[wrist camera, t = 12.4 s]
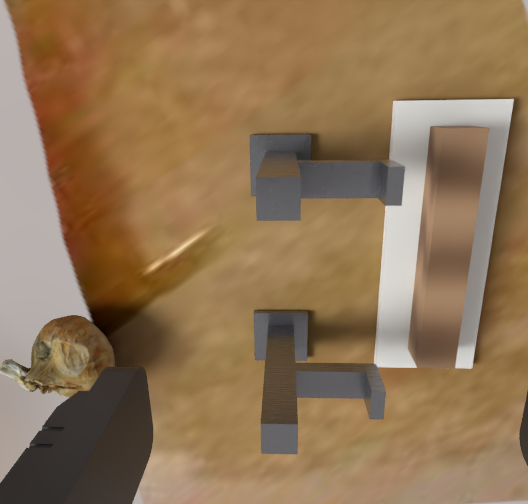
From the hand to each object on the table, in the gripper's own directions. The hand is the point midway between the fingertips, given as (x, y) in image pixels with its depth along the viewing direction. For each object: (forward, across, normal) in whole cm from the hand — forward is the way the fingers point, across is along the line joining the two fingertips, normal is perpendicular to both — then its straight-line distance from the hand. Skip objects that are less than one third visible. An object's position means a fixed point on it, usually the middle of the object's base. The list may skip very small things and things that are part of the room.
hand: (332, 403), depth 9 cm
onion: (+30, +20, +16) cm, 40 cm away
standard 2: (+30, -1, -1) cm, 30 cm away
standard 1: (+30, -1, +15) cm, 33 cm away
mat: (+30, -12, +6) cm, 33 cm away
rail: (+29, -12, +6) cm, 32 cm away
